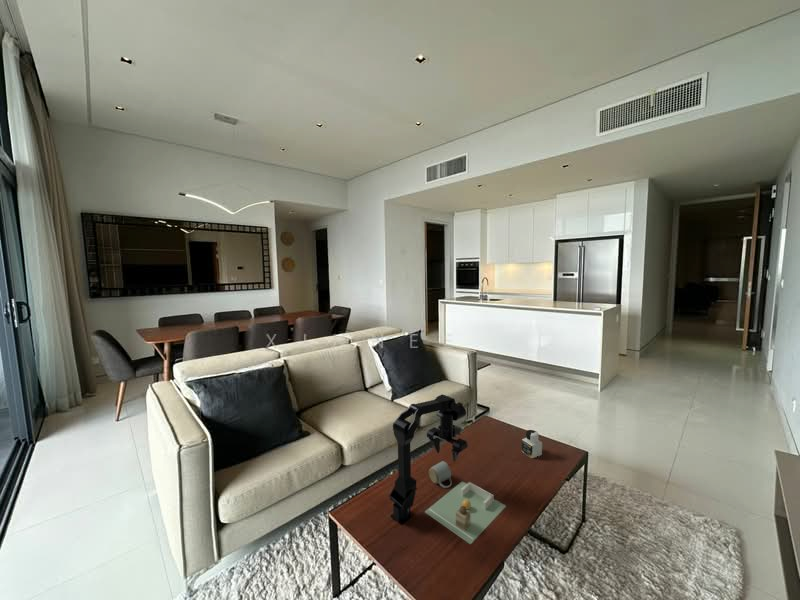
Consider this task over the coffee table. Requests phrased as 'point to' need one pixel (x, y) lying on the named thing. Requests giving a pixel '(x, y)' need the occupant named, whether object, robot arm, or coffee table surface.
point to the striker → (463, 518)
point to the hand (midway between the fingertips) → (446, 456)
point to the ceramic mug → (440, 473)
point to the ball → (466, 503)
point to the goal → (480, 492)
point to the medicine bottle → (531, 444)
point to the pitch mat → (480, 518)
